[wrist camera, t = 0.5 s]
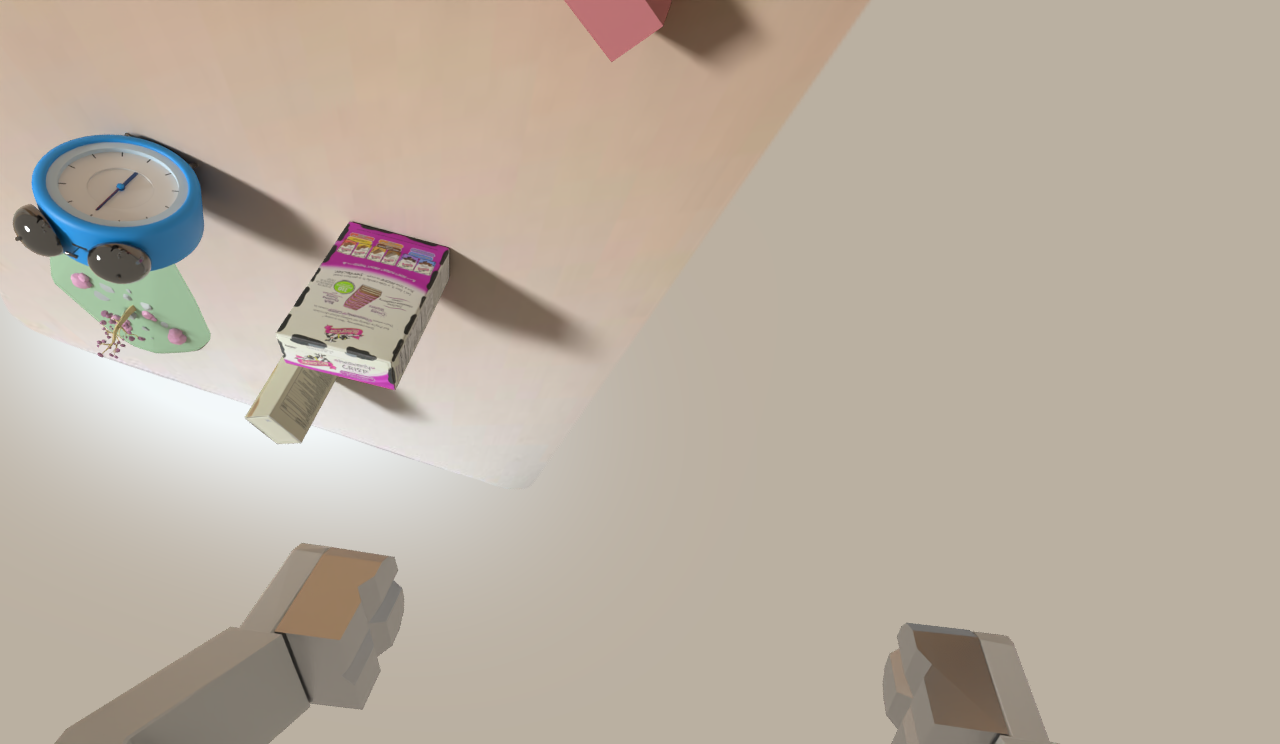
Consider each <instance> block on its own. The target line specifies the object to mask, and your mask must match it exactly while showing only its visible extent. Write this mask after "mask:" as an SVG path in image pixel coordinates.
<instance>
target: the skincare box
mask: <svg viewBox="0 0 1280 744" xmlns="http://www.w3.org/2000/svg"><path fill="white" fill-rule="evenodd" d="M336 378H337V376H335V375H331V374H327V373H323V372H319V371H315V370H311V369H307V368H304V367H300V366H296V365H291V364H287V363H286V362H285V360H284V358H283V356H282V358H281V359H280V361H279V363H278V364H277V366H276V368H275V369H274V371H273V372H272V374H271V376H270V377H269V379H268V380H267V382H266V384H265V385H264V387H263V389H262V390H261V392H260V393H259V395H258V397H257V398H256V400H255V402H254V403H253V405H252V407H251V408H250V410H249V411H248V413H247V415H246V416H245V419H246V420H248V421H249V422H250V423H251V424H252V425H254V426H255V427H256V428H257V429H259V430H260V431H261V432H262V433H264V434H265V435H266V436H268V437H269V438H270V439H271V440H273V441H274V442H275V443H276V444H294V443H301V442H302V441H303V439H304V437H305V435H306V433H307V431H308V430H309V428H310V426H311V424H312V422H313V420H314V419H315V417H316V415H317V413H318V411H319V409H320V408H321V406H322V404H323V402H324V400H325V398H326V397H327V395H328V393H329V391H330V389H331V387H332V386H333V384H334V382H335V380H336Z"/></svg>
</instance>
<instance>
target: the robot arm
mask: <svg viewBox="0 0 1280 744" xmlns="http://www.w3.org/2000/svg"><path fill="white" fill-rule="evenodd" d="M397 571H398V568H397V565H396V562H395V557H392V556H385V555H379V554H372V553H366V552H359V551H353V550H346V549H339V548H334V547H328V546H320V545H312V544H305V543H301V544H300V545H299V546H297V547H296V548H295V549H293V550H292V551H291V553H290V554H289V556H288V557H287V559H286V560H285V561H284V563H283V564H282V566H281V567H280V569H279V570H278V572H277V574H276V575H275V576H274V578H273V579H272V581H271V582H270V584H269V585H268V587H267V588H266V589H265V591H264V592H263V594H262V595H261V597H260V598H259V600H258V601H257V603H256V604H255V605H254V607H253V608H252V610H251V611H250V613H249V614H248V616H247V617H246V619H245V620H244V622H243V623H242V625H241V626H240V628H236V627H229V628H228V629H226V630H225V631H223V632H221V633H220V634H218V635H216V636H215V637H213V638H212V639H210V640H208V641H207V642H205V643H204V644H202V645H201V646H199V647H197V648H196V649H194V650H192V651H191V652H189V653H188V654H186V655H185V656H183V657H182V658H180V659H178V660H176V661H175V662H173V663H172V664H170V665H168V666H167V667H165V668H164V669H162V670H160V671H159V672H157V673H156V674H154V675H152V676H151V677H149V678H147V679H146V680H144V681H143V682H141V683H139V684H138V685H136V686H135V687H133V688H131V689H130V690H129V691H127V692H125V693H123V694H122V695H120V696H119V697H117V698H115V699H114V700H112V701H111V702H109V703H108V704H106V705H104V706H103V707H101V708H99V709H98V710H96V711H95V712H93V713H91V714H90V715H88V716H86V717H85V718H83V719H82V720H80V721H78V722H77V723H75V724H74V725H72V726H70V727H69V728H67V729H66V730H65V731H64V733H63V734H62V735H61V736H60V738H59V739H58V740H57V741H56V742H55V744H269V743H270V742H271V741H272V740H273V739H274V738H275V737H276V736H277V735H279V734H280V733H281V732H282V731H283V730H284V729H286V728H287V727H288V726H289V725H290V724H291V723H292V722H294V720H296V719H297V718H298V717H299V716H300V715H301V714H302V713H304V712H305V711H306V710H307V709H308V708H309V707H310V704H309V703H311V704H320V705H328V706H336V707H345V708H354V709H361V710H362V709H363V707H364V705H365V703H366V701H367V699H368V697H369V695H370V692H371V690H372V688H373V686H374V684H375V681H376V680H377V677H378V675H379V673H380V667H379V663H378V659H377V657H378V656H379V655H380V654H382V653H383V652H384V651H386V650H387V649H388V648H390V647H391V646H392V645H393V642H394V640H395V638H396V636H397V633H398V631H399V629H400V625H401V620H402V616H403V612H404V595H403V590H402V588H401V587H400V586H399V585H398V584H397V583H396V582H395V581H394V577H395V575H396V574H397ZM897 639H898V644H899V649H897V650H896V651H894V652H892V653H890V654H889V657H888V659H887V662H886V665H885V669H884V678H883V695H884V696H883V697H884V704H885V711H886V715H887V717H888V718H889V719H890V720H891V721H892V723H893V724H894V725H895V726H896V728H897V729H898V730H897V733H896V735H895V737H894V739H893V741H892V743H891V744H1058V743H1053V742H1050V741H1049V738H1048V736H1047V733H1046V730H1045V728H1044V725H1043V722H1042V719H1041V717H1040V714H1039V711H1038V708H1037V706H1036V703H1035V700H1034V698H1033V695H1032V692H1031V689H1030V687H1029V684H1028V681H1027V679H1026V676H1025V673H1024V670H1023V668H1022V665H1021V662H1020V659H1019V657H1018V654H1017V651H1016V648H1015V646H1014V643H1013V642H1012V641H1011V639H1010V638H1009V637H1008V636H1004V635H998V634H989V633H981V632H971V631H970V630H964V629H956V628H947V627H938V626H930V625H921V624H913V623H906V624H904V625H903V626H901V629H900V631H899V633H898V635H897Z"/></svg>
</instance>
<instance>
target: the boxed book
mask: <svg viewBox="0 0 1280 744" xmlns="http://www.w3.org/2000/svg"><path fill="white" fill-rule="evenodd" d="M565 2H566V3H567V4H568V6H569V7H570V8H571V10H572V11H573V12H574V14H575V15H576V16H577V18H578V19H579V20H580V21H581V23H582V24H583V25H584V27H585V28H586V29H587V31H588V32H589V33H590V35H591V36H592V37H593V39H594V40H595V41H596V42H597V44H598V45H599V46H600V48H601V49H602V50H603V52H604V53H605V54H606V56H607V57H608V58H609V59H610V61H611V62H613V61H614V60H615V59H617V58H618V57H620V56H621V55H623V54H624V53H625V52H627V51H628V50H630V49H631V48H633V47H634V46H635V45H637V44H638V43H640V42H641V41H643V40H644V39H645V38H647V37H648V36H650V35H651V34H652V33H654V32H655V31H657V30H658V29H660V28H661V27H662V26H663V25H664V22H665V19H666V16H667V14H668V11H669V8H670V5H671V2H672V0H565Z"/></svg>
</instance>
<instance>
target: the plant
mask: <svg viewBox="0 0 1280 744" xmlns="http://www.w3.org/2000/svg"><path fill="white" fill-rule="evenodd" d="M50 265H51V276H52V278H53V280H54V283H55V284H56V285H57V286H58V287H59V288H60V289H62V290H63V291H64V292H65V293H66V294H67V295H68V296H70V297H71V298H72V299H73V300H74V301H75V302H76V303H78V304H79V305H80V306H81V307H82V308H83V309H84V310H86V311H87V312H88V313H89V314H90V315H91V316H93V317H94V318H95V319H96V320H97V321H98V322H100V324H102V325H104V326H105V327H106V328H108V329H109V330H110V331H112V332H108V331H107V330H106V328H105V327H104V328H103V330H106V331H107V332H105V334H106V335H109V334H108V333H112V334H113V339H112V343H111V344H105V343H106V341H105V340H102V341H97V343H98V344H100V345H101V344H103V343H104V344H103V345H110V346H108V348H107V349H111V346H112V345H113V344H114V345H116V343H115V340H116V337H117V336H119V337H120V338H121V339H122V340H123V341H124V340H125V341H126V342H128V343H130V344H131V345H133V346H135V347H138V348H141V349H144V350H147V351H150V352H154V353H179V352H190V351H196V350H198V349H200V348H202V347H203V346H204V345H205V344H206V343H207V342H208V341H209V340H210V331H209V329H208V327H207V325H206V323H205V320H204V318H203V316H202V314H201V311H200V309H199V307H198V305H197V303H196V300H195V299H194V297H193V295H192V293H191V292H190V290H189V288H188V286H187V285H186V283H185V281H184V279H183V278H182V276H181V274H180V272H179V271H178V269H177V267H176V265H175V264H173V265H170V266H168V267H165V268H162V269H158V270H154V271H150V272H149V274H148V275H147V276H146V277H145V278H143V279H142V280H140V281H138V282H135V283H131V284H116V283H111V282H108V281H105V280H103V279H101V278H100V277H98V276H97V275H96V274H95V273H93V271H92V270H91V269H90V267H89V266H87V265H84V264H82V263H79V262H77V261H75V260H74V259H72V258H70V257H69V256H67V255H65V254H64V253H63V254H62V255H59V256H55V257H50ZM116 335H117V336H116ZM107 338H108V339H109V338H112V337H110V336H107ZM117 339H118V337H117ZM102 342H103V343H102ZM118 344H121V343H120V341H119V339H118V342H117V345H118ZM117 345H116V348H115V351H114V352H120V349H118V348H117ZM120 346H122V347H125V345H124V344H121V345H120ZM97 347H99V345H97ZM107 349H106V350H107ZM106 350H105V351H106ZM105 351H104V352H105ZM104 352H103V353H104ZM103 353H102V354H103ZM102 354H101V353H98V356H100V357H103V355H102ZM109 355H110V356H112V357H113V356H114V355H115V354H114V355H112V354H111V353H110V354H109ZM114 357H115V358H118V357H117V356H114Z"/></svg>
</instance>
